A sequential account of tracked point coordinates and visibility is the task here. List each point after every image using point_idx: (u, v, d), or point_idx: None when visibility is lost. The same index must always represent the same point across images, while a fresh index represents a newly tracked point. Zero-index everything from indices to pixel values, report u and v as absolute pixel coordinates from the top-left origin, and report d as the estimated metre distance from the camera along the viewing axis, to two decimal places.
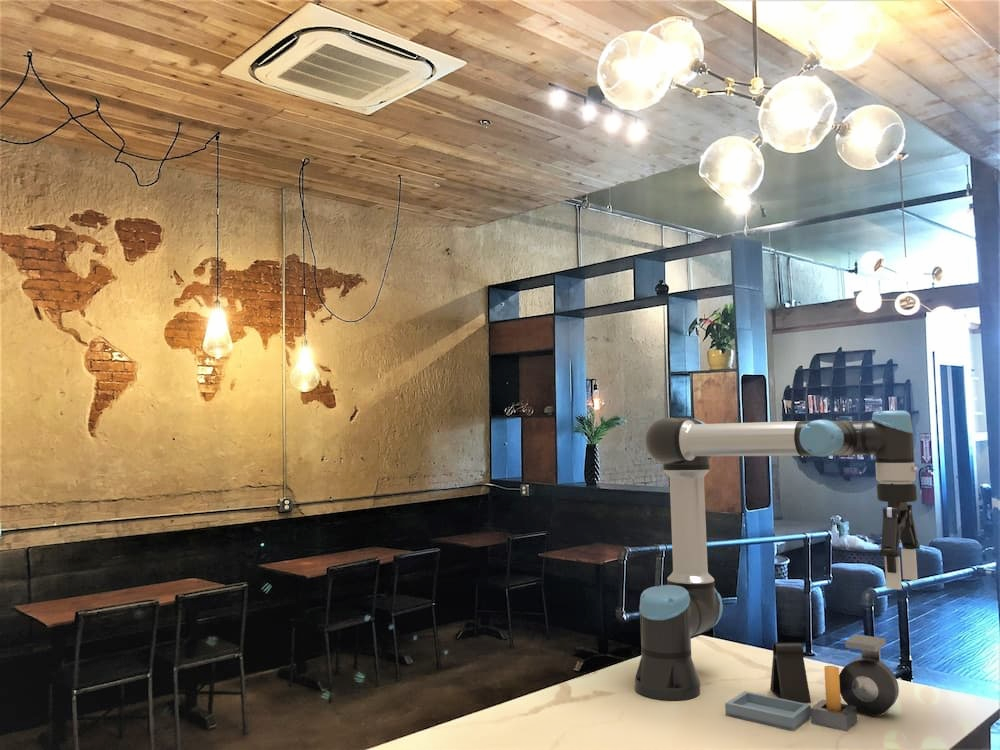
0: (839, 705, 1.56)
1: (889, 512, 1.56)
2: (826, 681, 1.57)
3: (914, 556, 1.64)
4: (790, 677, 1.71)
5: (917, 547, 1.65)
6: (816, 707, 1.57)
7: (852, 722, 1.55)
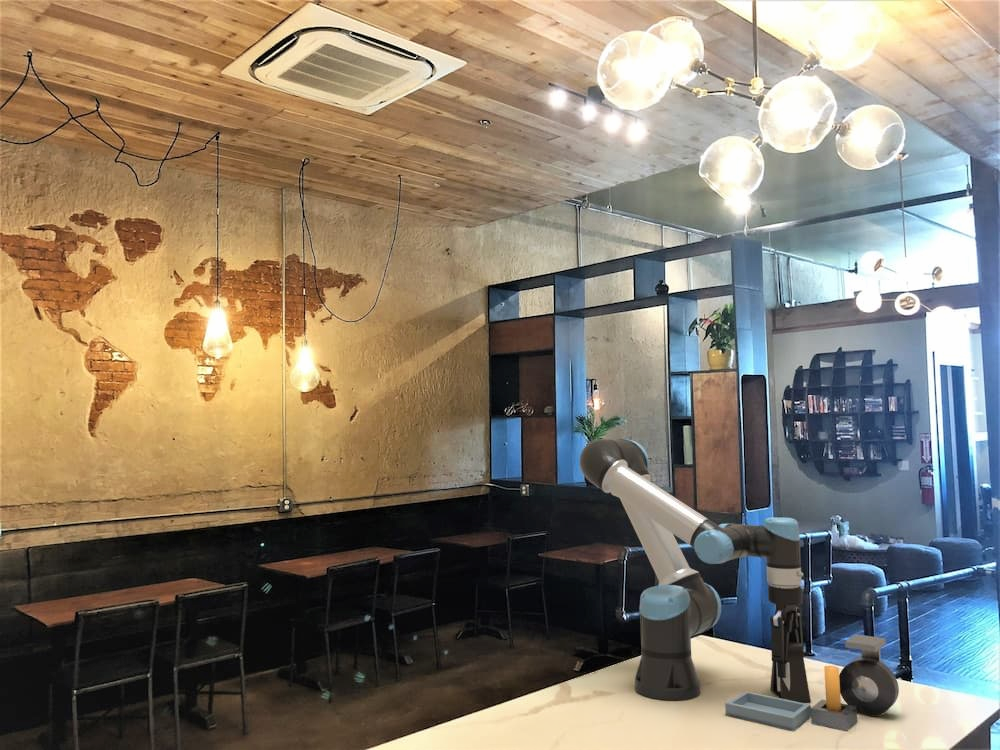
0: (839, 705, 1.56)
1: (775, 622, 1.70)
2: (826, 681, 1.57)
3: None
4: (790, 677, 1.71)
5: None
6: (816, 707, 1.57)
7: (852, 722, 1.55)
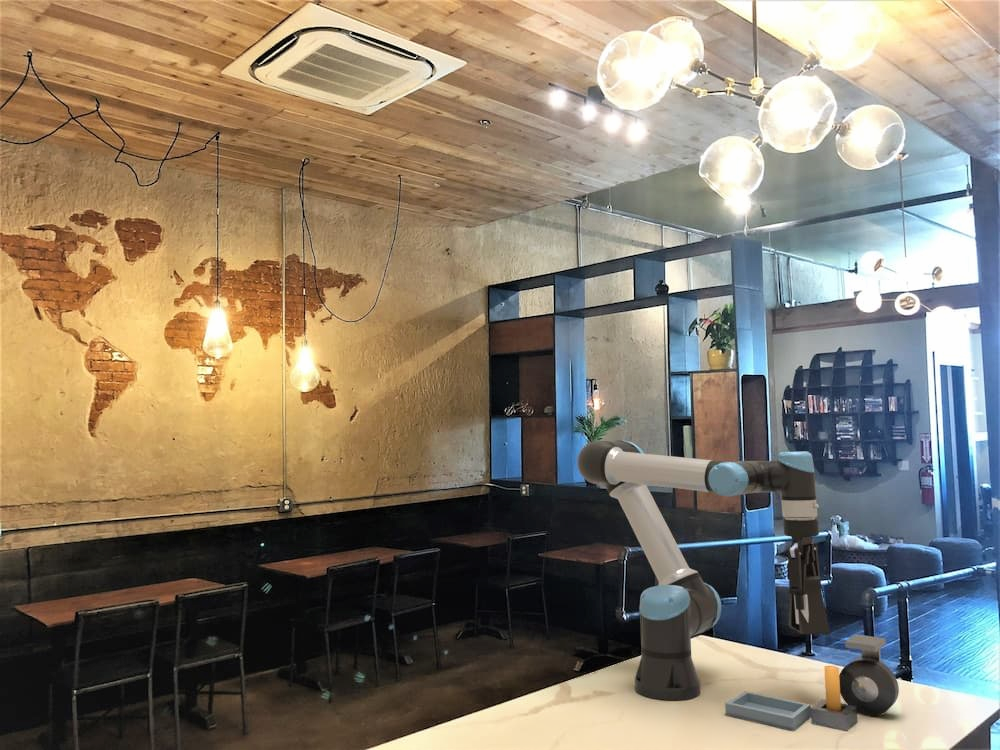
0: (839, 705, 1.56)
1: (792, 553, 1.68)
2: (826, 681, 1.57)
3: None
4: (808, 609, 1.69)
5: None
6: (816, 707, 1.57)
7: (852, 722, 1.55)
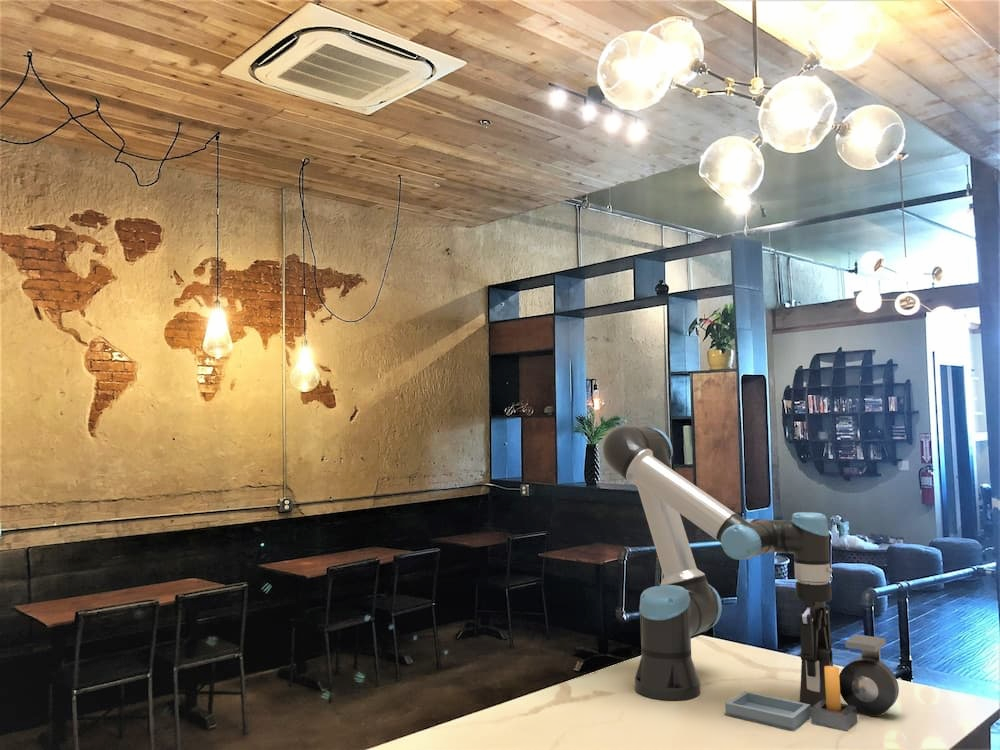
0: (839, 705, 1.56)
1: (804, 620, 1.66)
2: (826, 681, 1.57)
3: None
4: None
5: None
6: (816, 707, 1.57)
7: (852, 722, 1.55)
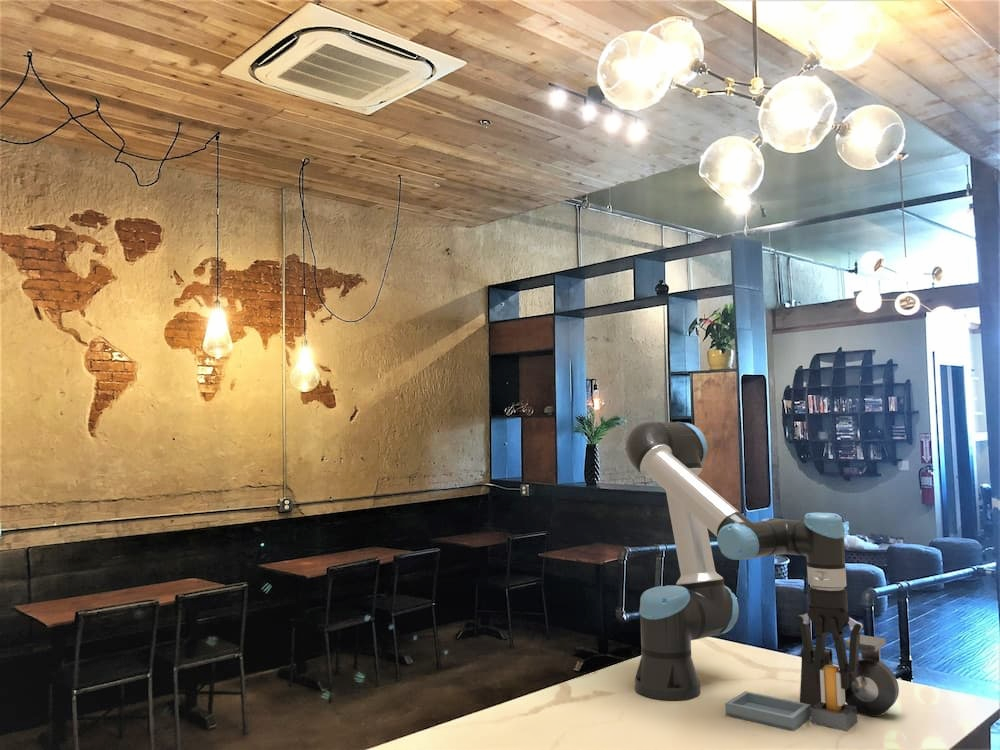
0: None
1: None
2: (826, 680, 1.57)
3: (836, 679, 1.56)
4: (811, 681, 1.68)
5: (840, 671, 1.55)
6: (816, 707, 1.57)
7: (852, 722, 1.55)
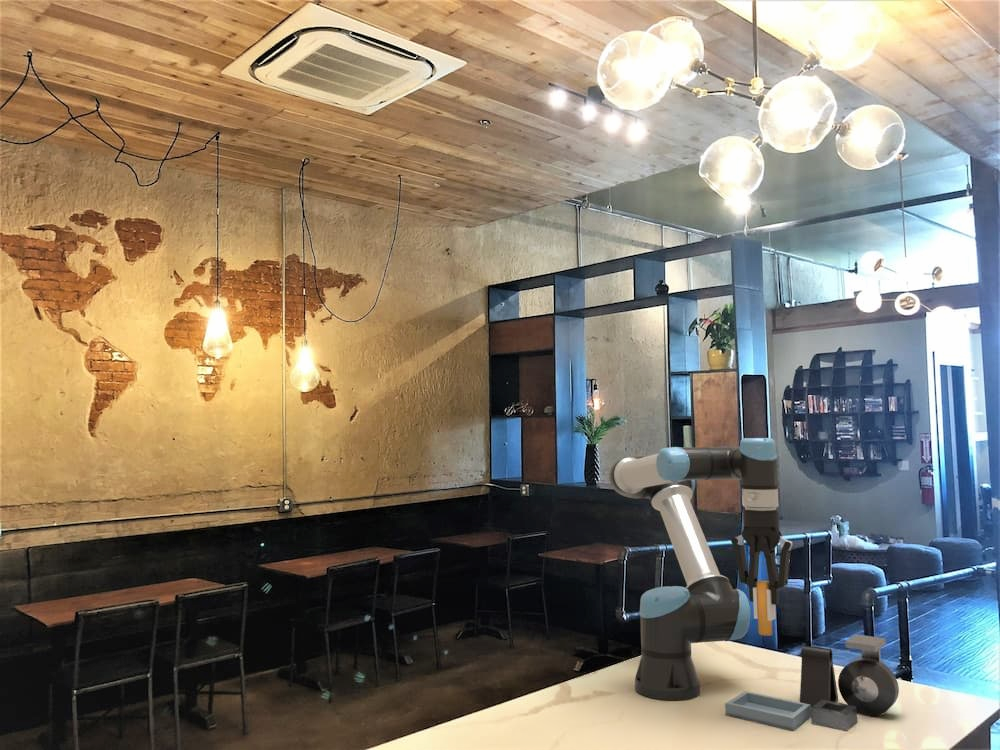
0: None
1: None
2: (758, 594, 1.63)
3: (767, 596, 1.62)
4: (811, 681, 1.68)
5: (770, 587, 1.61)
6: (816, 707, 1.57)
7: (852, 722, 1.55)
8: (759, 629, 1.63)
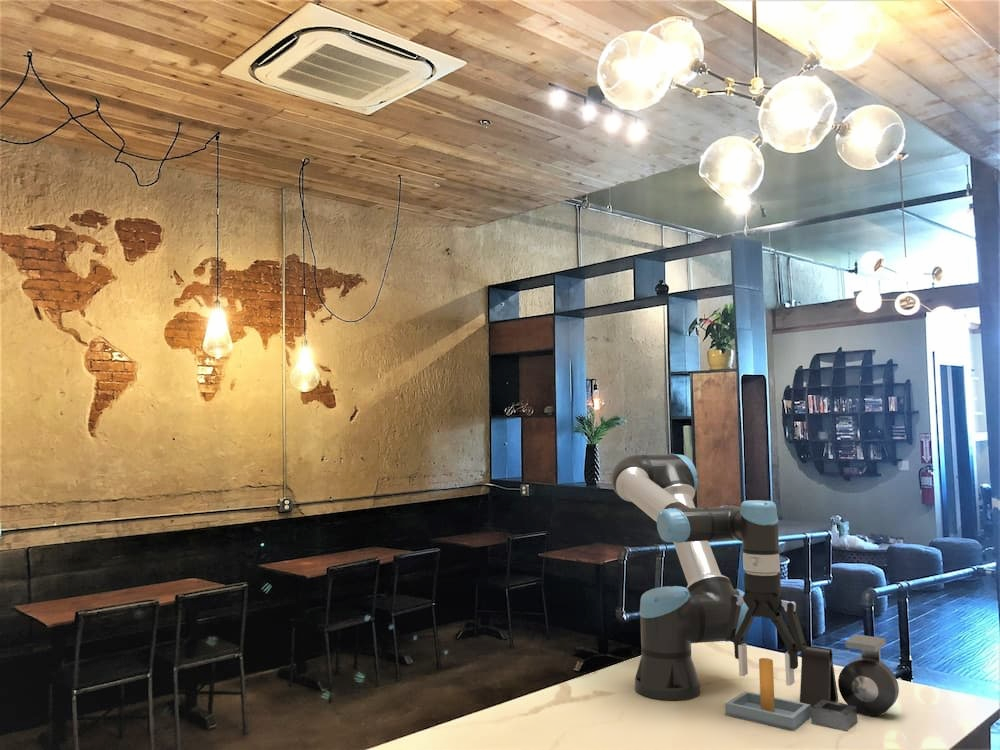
0: (772, 696, 1.60)
1: None
2: (760, 673, 1.61)
3: (785, 659, 1.58)
4: (811, 681, 1.68)
5: None
6: (816, 707, 1.57)
7: (852, 722, 1.55)
8: (761, 708, 1.61)
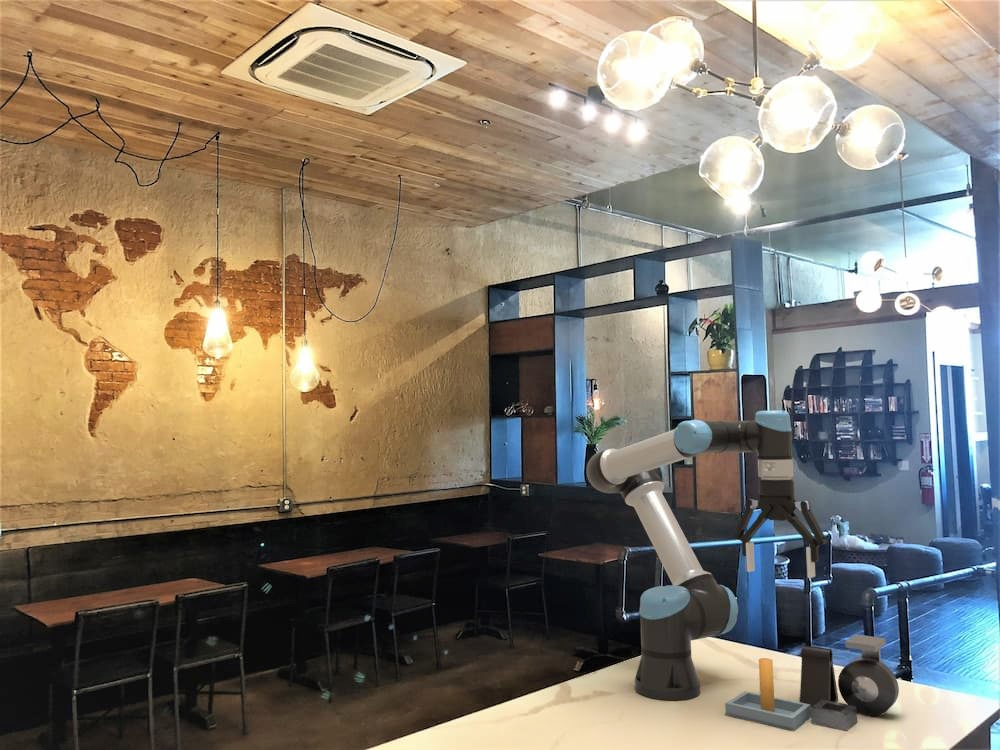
0: (772, 696, 1.60)
1: None
2: (760, 673, 1.61)
3: None
4: (811, 681, 1.68)
5: None
6: (816, 707, 1.57)
7: (852, 722, 1.55)
8: (761, 708, 1.61)
